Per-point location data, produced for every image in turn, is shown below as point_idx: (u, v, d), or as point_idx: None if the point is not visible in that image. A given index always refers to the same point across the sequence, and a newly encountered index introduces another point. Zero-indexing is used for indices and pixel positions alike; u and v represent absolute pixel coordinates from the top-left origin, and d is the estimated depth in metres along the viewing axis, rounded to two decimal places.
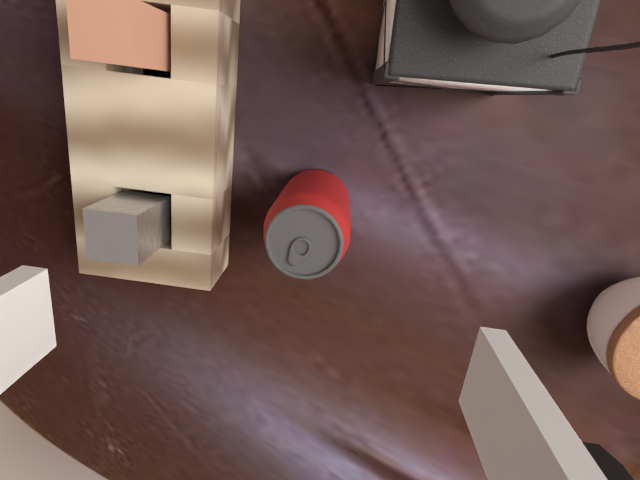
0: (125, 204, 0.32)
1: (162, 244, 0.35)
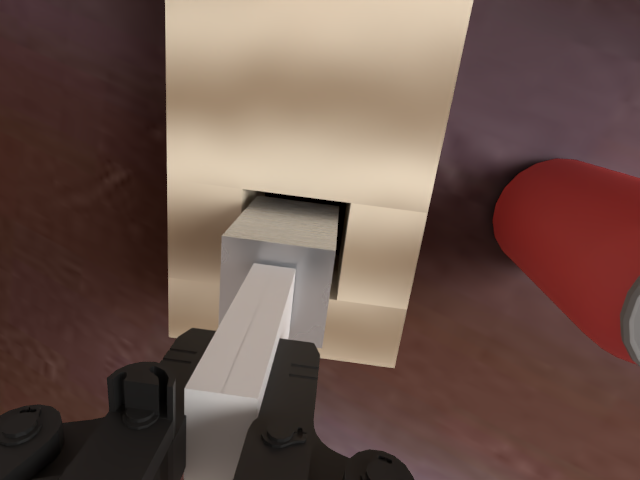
0: (287, 223, 0.16)
1: None
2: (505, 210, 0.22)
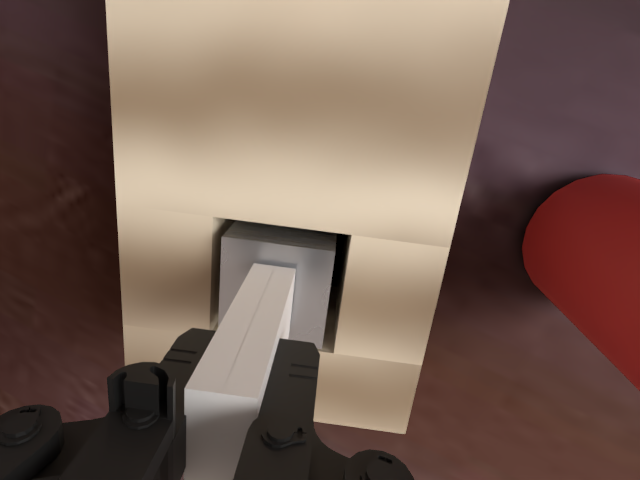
0: None
1: None
2: (540, 237, 0.18)
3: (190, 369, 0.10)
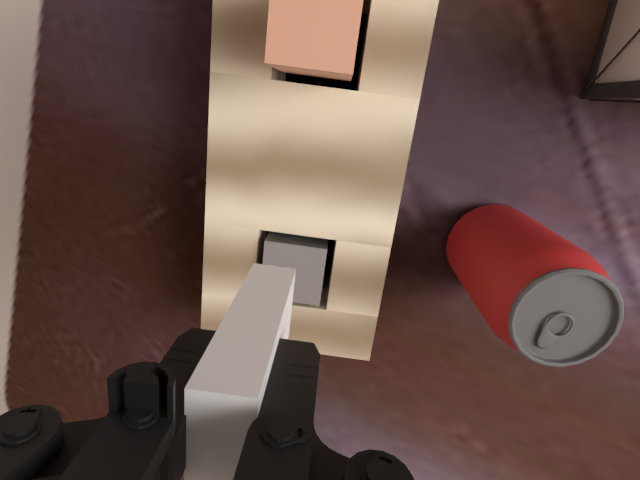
0: None
1: None
2: (453, 243, 0.30)
3: (190, 369, 0.10)
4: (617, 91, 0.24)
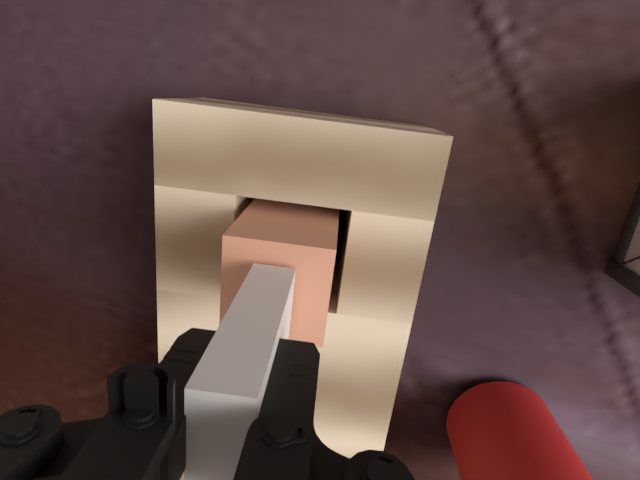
0: None
1: None
2: (453, 429, 0.26)
3: (190, 369, 0.10)
4: None
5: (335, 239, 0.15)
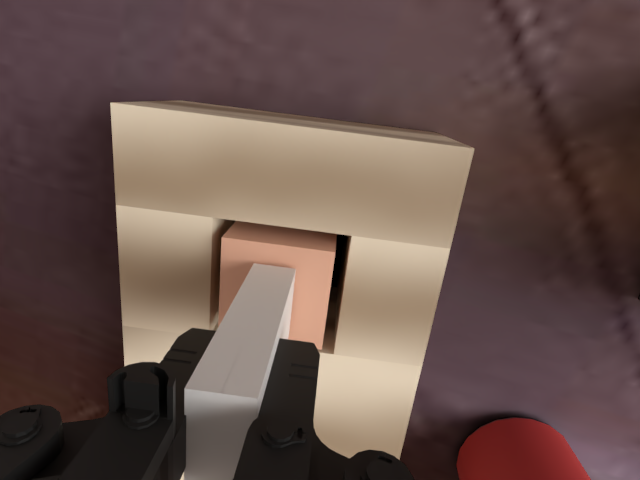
0: None
1: None
2: (466, 473, 0.23)
3: (190, 369, 0.10)
4: None
5: (334, 241, 0.15)
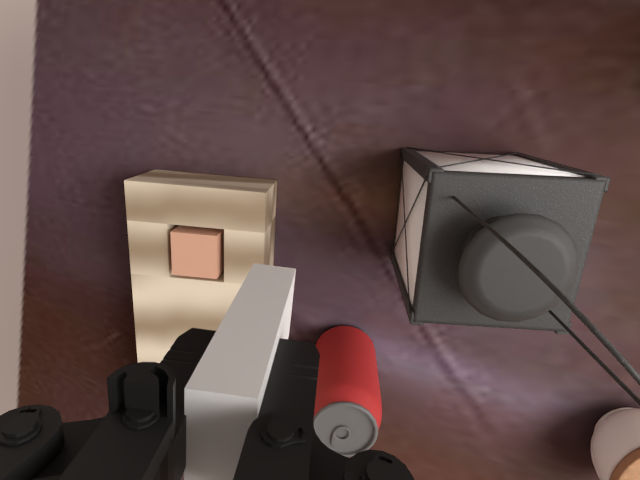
0: None
1: None
2: None
3: (190, 369, 0.10)
4: (395, 269, 0.38)
5: (219, 232, 0.36)
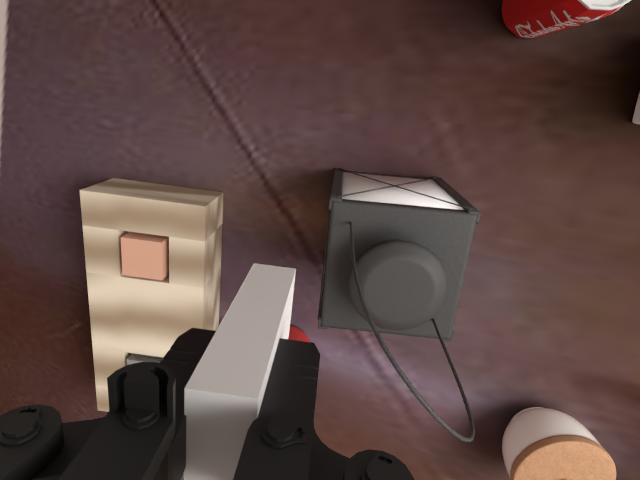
0: None
1: None
2: None
3: (190, 369, 0.10)
4: None
5: (165, 238, 0.40)
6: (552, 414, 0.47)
